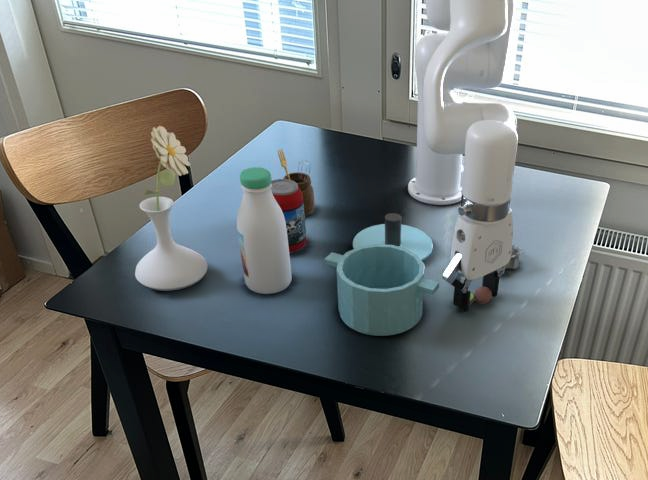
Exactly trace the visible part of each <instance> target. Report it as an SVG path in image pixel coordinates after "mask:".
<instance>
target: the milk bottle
mask: <svg viewBox="0 0 648 480" xmlns="http://www.w3.org/2000/svg"><path fill="white" fill-rule="evenodd" d="M239 181H240V187H241V189H242V190H243V193H242V198H241V202H240V205H239V208H238V211H237V215H236V216H237V217H236V229H237V238H238V244H239V245H238V246H239V251H240V258H241V259H240V260H241V265H242V271H243V279H244V283H245V285H246V287H247V288H248V289H249V290H250V291H252V292H254V293H257V294H263V295H270V294H277V293H280V292H282V291H284V290H286V289H287V288H289V286H290V284H291V283H292V267H291V256H290V253H289V246H288V237H287V229H286V222H285V218H284V215H283V212H282V210H281V208H280V206H279V205H278V203H277V202H276V200H275V198H274V196H273V194H272V191H271V187H272V183H271V181H272V175H271V172H270V171H269V170H268V169H267V168H263V167H259V166H258V167H256V166H255V167H254V166H253V167H248V168H245V169H243V170H242V171H241V172H239Z"/></svg>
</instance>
